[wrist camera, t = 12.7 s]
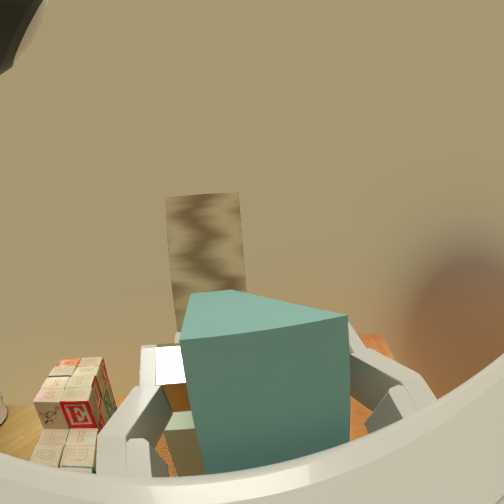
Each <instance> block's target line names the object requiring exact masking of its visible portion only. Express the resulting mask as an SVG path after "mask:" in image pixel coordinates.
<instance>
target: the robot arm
mask: <svg viewBox="0 0 504 504" xmlns="http://www.w3.org/2000/svg"><path fill="white" fill-rule="evenodd" d="M47 4H48V0H0V75H1V74H2V73H4V72H5V71H7V70H8V69H10V68H11V67H12V66H13V64H14V62H15V61H16V59H17V58H18V57H19V56H20V55H21V54H22V53H23V52H24V50H25V49H26V48H27V47H28V45H29V44H30V43H31V41H32V40H33V38H34V36H35V35H36V33H37V31H38V29H39V27H40V25H41V23H42V21H43V18H44V15H45V12H46V8H47ZM348 329H349V350H350V395H351V396H352V397H353V398H355V399H356V400H357V401H359V402H360V403H361V404H363V405H364V406H366V407H367V408H368V409H370V410H371V411H372V413H371V414H370V416H369V417H368V418H367V419H366V421H365V423H364V424H365V426H366V428H367V431H368V433H369V434H367V435H365V436H362V437H360V438H357V439H355V440H352V441H350V442H347V443H344V444H341V445H338V446H336V447H333V448H330V449H327V450H324V451H320V452H317V453H314V454H310V455H307V456H303V457H300V458H296V459H292V460H288V461H284V462H280V463H276V464H271V465H267V466H262V467H257V468H251V469H245V470H239V471H233V472H226V473H218V474H208V475H197V476H182V477H169V473H168V466H167V464H166V463H165V462H164V460H163V459H162V458H161V457H160V456H159V454H158V453H157V452H156V451H155V447H156V445H157V443H158V441H159V439H160V438H161V436H162V434H163V432H164V430H165V428H166V426H167V424H168V422H169V421H170V419H171V417H172V415H173V412H184V411H191V407H190V402H189V397H188V392H187V386H186V381H185V375H184V369H183V363H182V357H181V350H180V344H179V343H172V344H156V345H142V347H141V355H140V373H139V374H140V375H139V386H135V387H134V388H133V389H132V391H131V392H130V393H129V394H128V396H127V397H126V398H125V400H124V401H123V402H122V404H121V405H120V406H119V408H118V409H117V410H116V412H115V413H114V414H113V416H112V417H111V418H110V420H109V421H108V422H107V424H106V425H105V426H104V427H103V429H102V430H101V431H100V433H99V434H98V435H97V454H96V474H93V473H85V472H79V471H72V470H67V469H61V468H56V467H51V466H47V465H43V464H39V463H35V462H31V461H27V460H24V459H20V458H17V457H13V456H10V455H7V454H4V453H1V452H0V504H504V353H503V354H502V355H501V356H500V357H498V358H497V359H496V360H495V361H493V362H492V363H491V364H490V365H488V366H487V367H486V368H484V369H483V370H482V371H480V372H479V373H477V374H476V375H475V376H473V377H472V378H470V379H469V380H468V381H466V382H465V383H463V384H462V385H460V386H459V387H457V388H456V389H454V390H452V391H451V392H449V393H448V394H446V395H444V396H443V397H441V398H440V399H438V400H437V399H436V397H435V396H434V394H433V393H432V391H431V390H430V388H429V387H428V385H427V384H426V382H425V381H424V379H423V378H422V376H421V375H420V374H418V373H417V372H415V371H413V370H411V369H409V368H407V367H405V366H403V365H401V364H399V363H397V362H395V361H394V360H392V359H390V358H388V357H386V356H384V355H382V354H380V353H379V352H377V351H375V350H373V349H371V348H368V349H366V347H365V346H364V344H363V343H362V341H361V339H360V338H359V336H358V335H357V333H356V332H355V331H354V329H353V327H352V326H351V325H350V323H349V322H348ZM2 400H3V397H2V395H1V393H0V424H1V423H2V422H3V421H4V420H5V418H6V416H7V408H6V406H5V404H4V403H3V401H2Z"/></svg>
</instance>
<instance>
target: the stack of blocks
mask: <svg viewBox="0 0 504 504" xmlns="http://www.w3.org/2000/svg"><path fill="white" fill-rule="evenodd" d="M33 403H34V405H35V408H36V411H37V413H38V416H39V418H40V420H41V423H42V425H43V427H44V429H43V431H42V433H41V436H40V438H39V440H38V443H37V445H36V446H35V448H34V451H33V453H32V456H31V458H30V461H31V462H35V463H39V464H43V465H47V466H51V467H56V468H61V469H67V470H72V471H79V472H85V473H93V474H96V454H97V435H98V434H99V433H100V431H101V430H102V429H103V427H104V426H105V425H106V424H107V422H108V421H109V420H110V418H111V417H112V416H113V414H114V413H115V412H116V410H117V407H116V404H115V400H114V396H113V393H112V389H111V385H110V383H109V379H108V376H107V372H106V368H105V363H104V360H103V357H92V358H82V359H80V358H79V359H78V358H77V359H61V360H60V362H59V363H58V364H57V366H56V367H54V368H53V369H52V371H51V372H50V374H49V377H48V378H47V379H46V380H45V382H44V384H43V385H42V387H41V389H40V391H39V392H38V394H37V396H36V397H35V399H34V400H33Z"/></svg>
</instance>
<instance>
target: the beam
mask: <svg viewBox="0 0 504 504" xmlns="http://www.w3.org/2000/svg"><path fill="white" fill-rule="evenodd" d="M179 344H180V350H181V357H182V363H183V369H184V375H185V381H186V386H187V392H188V397H189V402H190V407H191V412H192V417H193V422H194V426H195V431H196V435H197V440H198V444H199V448H200V452H201V456H202V460H203V464H204V468H205V472H206V475H208V474H218V473H226V472H233V471H239V470H245V469H251V468H257V467H262V466H267V465H271V464H276V463H280V462H284V461H288V460H292V459H296V458H300V457H303V456H307V455H310V454H314V453H317V452H320V451H324V450H327V449H330V448H333V447H336V446H338V445H341V444H344V443H347V442H349V437H350V350H349V329H348V315H345V314H340V313H335V312H330V311H325V310H320V309H316V308H311V307H306V306H301V305H297V304H292V303H287V302H283V301H278V300H274V299H269V298H265V297H261V296H257V295H252V294H248V293H244V292H240V291H235V290H221V291H212V292H201V293H191V295H190V299H189V302H188V306H187V310H186V314H185V318H184V322H183V326H182V330H181V334H180V338H179Z"/></svg>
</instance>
